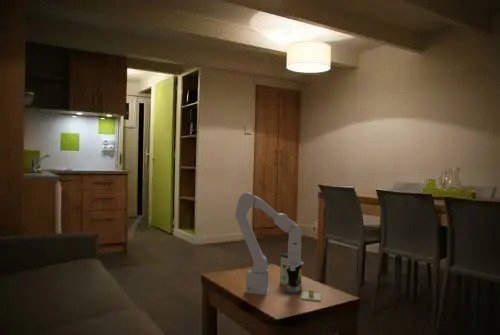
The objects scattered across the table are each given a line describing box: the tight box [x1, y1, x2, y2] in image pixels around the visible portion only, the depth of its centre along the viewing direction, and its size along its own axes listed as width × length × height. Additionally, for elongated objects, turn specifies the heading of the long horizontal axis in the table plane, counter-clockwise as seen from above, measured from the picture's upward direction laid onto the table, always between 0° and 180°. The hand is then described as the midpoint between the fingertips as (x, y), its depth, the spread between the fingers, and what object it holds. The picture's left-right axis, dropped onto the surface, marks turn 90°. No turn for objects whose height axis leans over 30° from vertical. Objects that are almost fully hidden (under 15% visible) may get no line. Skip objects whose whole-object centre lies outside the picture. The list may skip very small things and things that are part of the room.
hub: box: [300, 288, 322, 303], centre depth 161 cm, size 8×8×4 cm
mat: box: [283, 288, 303, 296], centre depth 167 cm, size 7×7×1 cm
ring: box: [286, 283, 301, 295], centre depth 167 cm, size 6×6×3 cm
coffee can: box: [279, 251, 303, 287], centre depth 180 cm, size 10×10×14 cm
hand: (293, 283), depth 167 cm, fingers open, 7 cm apart
